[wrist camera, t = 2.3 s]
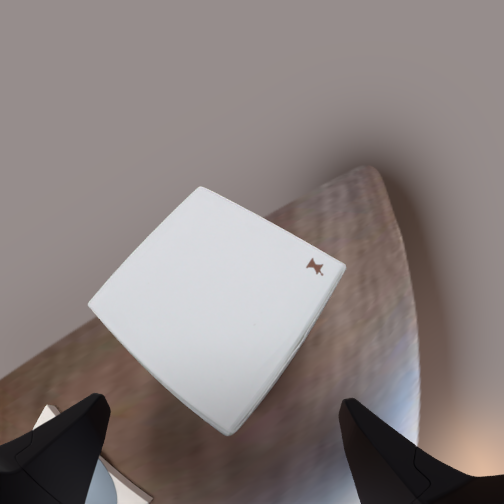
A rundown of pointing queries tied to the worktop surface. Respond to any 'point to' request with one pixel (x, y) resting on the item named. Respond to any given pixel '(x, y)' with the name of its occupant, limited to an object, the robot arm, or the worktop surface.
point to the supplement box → (217, 305)
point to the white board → (104, 478)
